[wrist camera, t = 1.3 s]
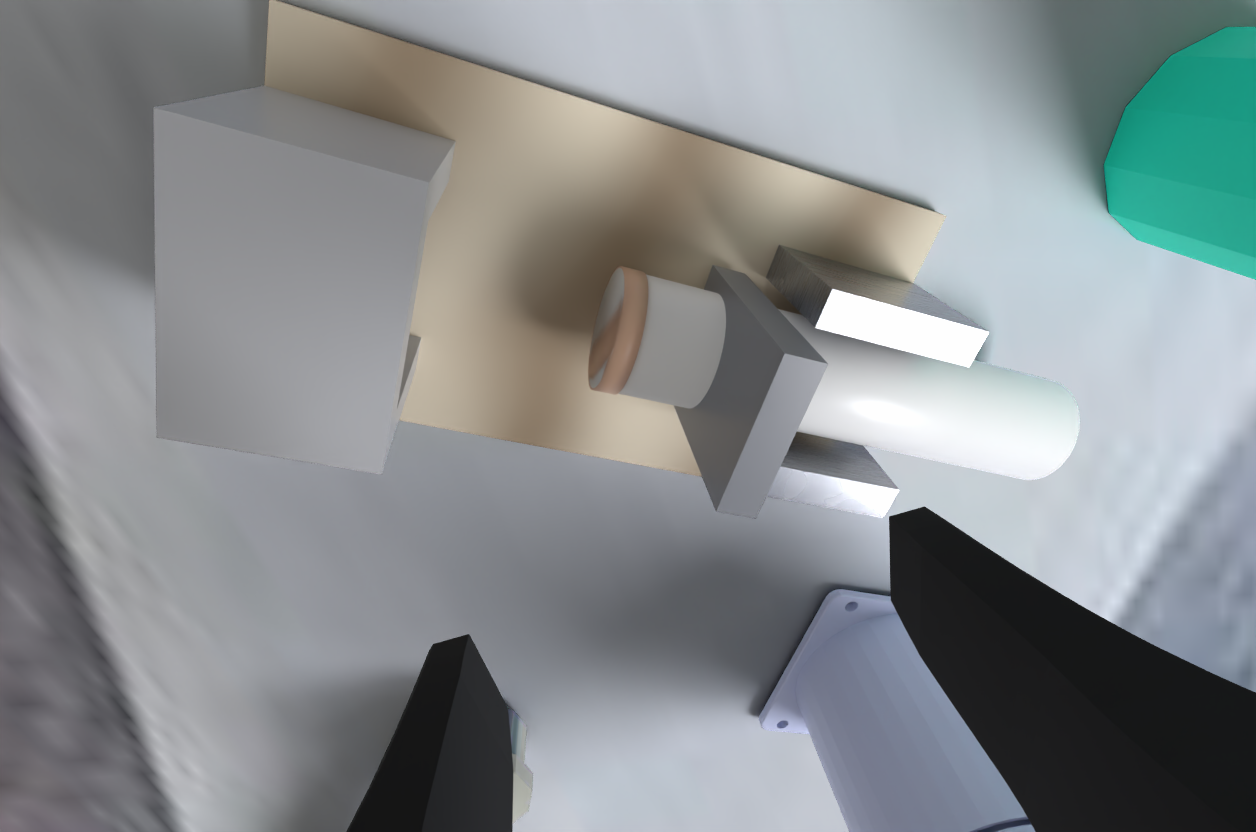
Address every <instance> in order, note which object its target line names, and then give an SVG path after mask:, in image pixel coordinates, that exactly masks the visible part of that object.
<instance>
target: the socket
mask: <svg viewBox="0 0 1256 832" xmlns="http://www.w3.org/2000/svg"><path fill="white" fill-rule="evenodd" d="M153 129H154V226H155V323H156V420H157V438H163V439H169V440H175V441H181V442H187V443H193V444H199V445H205V446H211V447H217V448H223V449H229V450H235V451H241V452H247V453H253V454H259V455H265V456H271V457H277V458H283V459H290V460H296V461H302V462H308V463H314V464H320V465H326V466H332V467H338V468H344V469H350V470H356V471H362V472H368V473H374V474H380V475H382V472H383V469H384V465H385V462H386V459H387V456H388V453H389V450H390V447H391V444H392V441H393V438H394V435H395V432H396V429H397V425H398V422H399V419H400V416H401V413H402V410H403V407H404V404H405V401H406V398H407V395H408V392H409V389H410V385H411V382H412V379H413V376H414V373H415V370H416V366H417V360H418V354H419V348H420V343H421V337H417V336H412V335H409V334H410V328H411V322H412V316H413V310H414V304H415V298H416V292H417V286H418V279H419V273H420V267H421V261H422V255H423V249H424V243H425V237H426V231H427V225H428V221H429V219H430V217H431V215H432V213H433V211H434V209H435V207H436V205H437V203H438V201H439V199H440V197H441V196H442V194H443V192H444V190H445V188H446V186H447V184H448V182H449V177H450V172H451V166H452V160H453V154H454V149H455V143H456V141H454V140H450V139H447V138H443V137H440V136H437V135H433V134H430V133H426V132H423V131H419V130H416V129H412V128H409V127H406V126H402V125H399V124H395V123H392V122H388V121H385V120H382V119H378V118H375V117H371V116H368V115H364V114H361V113H357V112H354V111H351V110H347V109H344V108H340V107H337V106H333V105H330V104H327V103H323V102H320V101H316V100H313V99H309V98H306V97H302V96H299V95H296V94H292V93H289V92H285V91H282V90H278V89H275V88H272V87H268V86H265V85H264V86H259V87H254V88H249V89H244V90H239V91H233V92H228V93H223V94H218V95H213V96H208V97H203V98H198V99H193V100H188V101H183V102H177V103H172V104H167V105H162V106H157V107H153Z"/></svg>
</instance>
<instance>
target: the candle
mask: <svg viewBox="0 0 1256 832" xmlns="http://www.w3.org/2000/svg"><path fill="white" fill-rule="evenodd" d="M1104 174H1105V183H1106V193H1107V202H1108V211H1109V214H1110V215H1111V216H1112V217H1114V218H1115V219H1116V220H1117V221H1118V222H1119V223H1120V224H1121V225H1122V226H1123V227H1124V228H1125V229H1126V230H1127V231H1128V232H1129V233H1130V234H1131V235H1132V236H1133V237H1135V238H1136V239H1137V240H1139V241H1142V242H1145V243H1148V244H1151V245H1154V246H1157V247H1160V248H1163V249H1166V250H1169V251H1172V252H1175V253H1178V254H1181V255H1184V256H1187V257H1190V258H1193V259H1196V260H1199V261H1202V262H1205V263H1208V264H1211V265H1214V266H1217V267H1220V268H1222V269H1225V270H1228V271H1231V272H1234V273H1237V274H1240V275H1243V276H1246V277H1249V278H1252V279H1255V280H1256V27H1226V28H1224V29H1222V30H1220V31H1218V32H1216V33H1214V34H1212V35H1210V36H1208V37H1206V38H1204V39H1202V40H1200V41H1198V42H1196V43H1194V44H1192V45H1190V46H1189V47H1187V48H1185V49H1183V50H1181V51H1179V52H1177V53H1175V54H1173V55H1171V56H1170V57H1169V58H1168V59H1167V60H1166V62H1165V63H1164V64H1163V65H1162V66H1161V67H1160V68H1159V70H1158V71H1157V72H1156V73H1155V74H1154V75H1153V76H1152V78H1151V79H1150V80H1149V81H1148V82H1147V83H1146V84H1145V86H1144V87H1143V88H1142V89H1141V90H1140V91H1139V92H1138V94H1137V95H1136V96H1135V97H1134V98H1133V99H1132V100H1131V102H1130V103H1129V104H1128V105H1127V106H1126V107H1125V110H1124V113H1123V115H1122V118H1121V120H1120V123H1119V126H1118V128H1117V131H1116V134H1115V136H1114V139H1113V142H1112V144H1111V147H1110V150H1109V152H1108V155H1107V157H1106V160H1105V163H1104Z"/></svg>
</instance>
